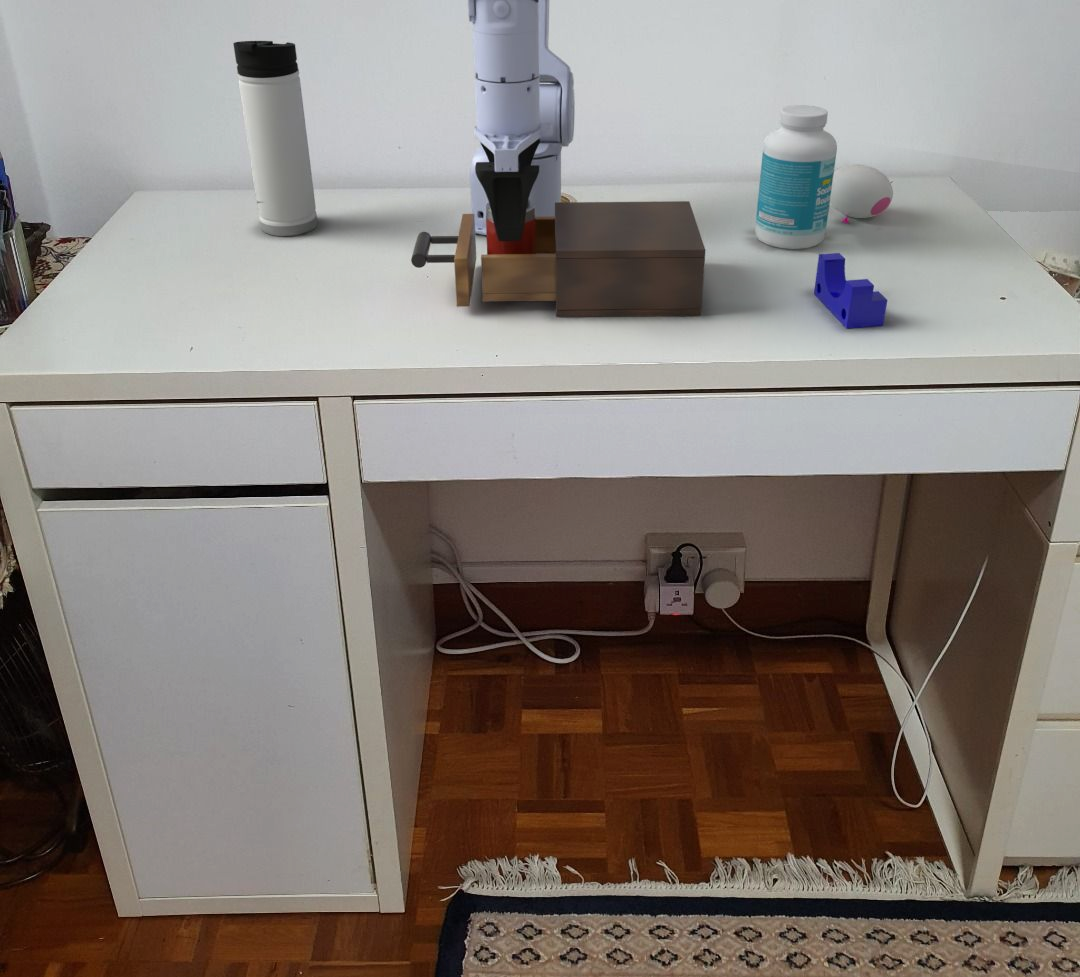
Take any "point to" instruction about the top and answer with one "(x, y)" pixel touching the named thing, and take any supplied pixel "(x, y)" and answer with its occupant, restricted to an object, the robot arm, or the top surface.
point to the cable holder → (848, 294)
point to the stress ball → (860, 191)
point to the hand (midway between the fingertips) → (510, 225)
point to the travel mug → (276, 136)
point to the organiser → (628, 259)
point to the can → (512, 247)
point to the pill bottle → (796, 179)
